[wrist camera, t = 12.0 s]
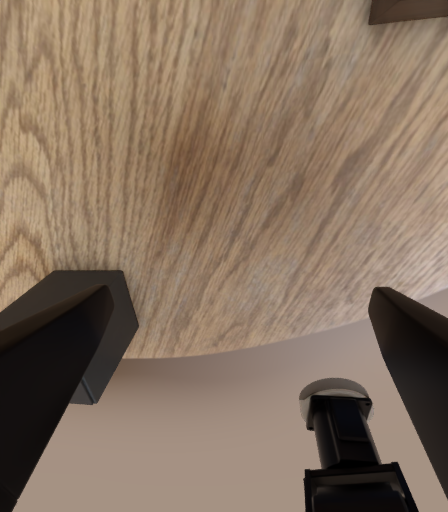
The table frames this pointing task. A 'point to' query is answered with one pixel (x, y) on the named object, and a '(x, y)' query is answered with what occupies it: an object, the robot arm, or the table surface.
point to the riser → (116, 333)
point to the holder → (406, 10)
